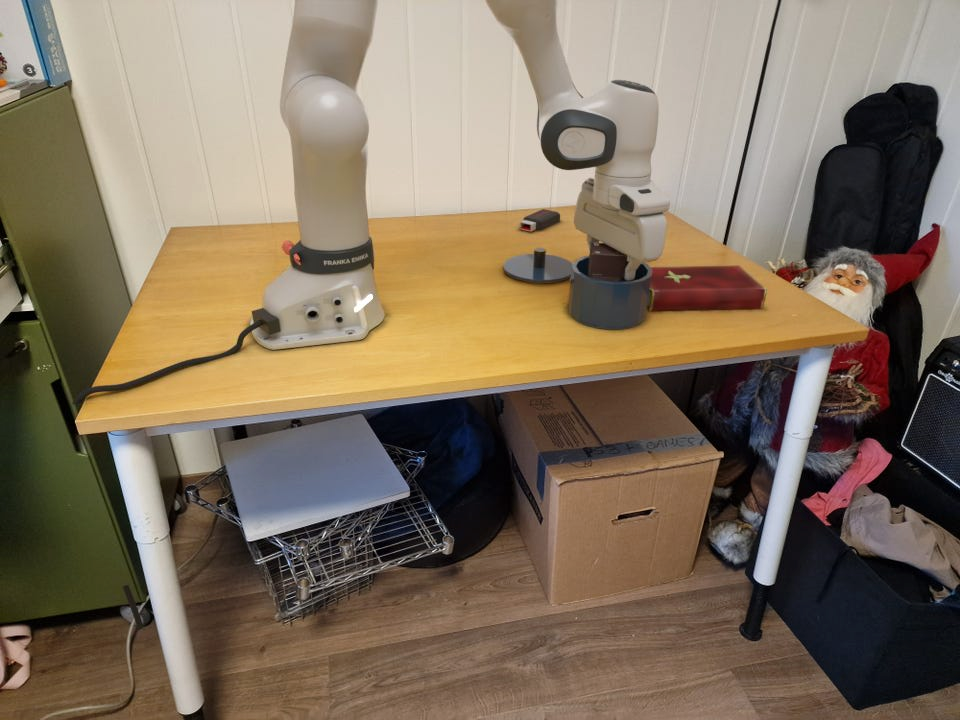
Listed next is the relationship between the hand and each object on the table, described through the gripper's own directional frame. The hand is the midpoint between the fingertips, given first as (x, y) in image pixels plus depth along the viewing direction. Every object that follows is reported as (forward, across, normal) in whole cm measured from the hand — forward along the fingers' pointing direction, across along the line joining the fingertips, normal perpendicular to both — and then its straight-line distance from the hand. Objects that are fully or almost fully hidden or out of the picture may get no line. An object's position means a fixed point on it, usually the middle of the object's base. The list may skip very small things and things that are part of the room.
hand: (610, 269), depth 112 cm
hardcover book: (+8, +2, +19) cm, 21 cm away
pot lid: (+8, -22, -1) cm, 23 cm away
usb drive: (+8, -48, +15) cm, 51 cm away
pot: (+8, 0, 0) cm, 8 cm away
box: (+4, 0, -1) cm, 4 cm away
